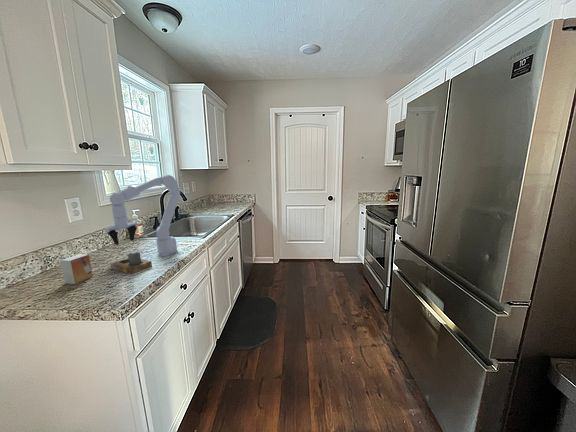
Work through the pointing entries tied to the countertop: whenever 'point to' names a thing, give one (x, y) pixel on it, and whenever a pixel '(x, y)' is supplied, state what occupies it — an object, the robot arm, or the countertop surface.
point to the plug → (134, 258)
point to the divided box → (125, 267)
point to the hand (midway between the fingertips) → (124, 242)
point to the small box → (76, 268)
